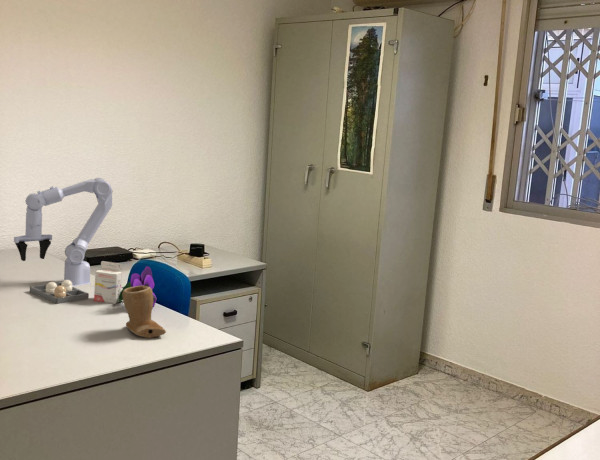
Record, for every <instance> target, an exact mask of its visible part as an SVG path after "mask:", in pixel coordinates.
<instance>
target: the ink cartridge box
mask: <svg viewBox="0 0 600 460" xmlns="http://www.w3.org/2000/svg"><path fill="white" fill-rule="evenodd" d="M122 266H123V265H122V263H118V262H114V261H113V262H112V261H104V260H102V261H101V262H100V269H98V270H96V271H95V273H94V274H95V276H94V291H93V292H94V293H93V294H94V295H93V301H94V302H99V303H100V302H101V303H107V304H112V305H113V306H115V305H117V303H120V301H119V299H118V298H119V295H120V292H121V291H122V274H123V272H122Z"/></svg>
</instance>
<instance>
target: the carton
mask: <svg viewBox="0 0 600 460" xmlns="http://www.w3.org/2000/svg"><path fill="white" fill-rule="evenodd" d="M55 283H56V284H57V286H61V283H62V281H58V282H55ZM47 284H48V283H46V284H39V285H38V284H37V285H32V286H29V292H30V293H31V294H34V295H36V296H37V297H39V298H42V299H44V300H46V301H49V302H51V303H53V304H55V305H58V304H60V305H61V304H66V303H71V302H76V301H77V302H78V301H83V300H84V301H85V300H89V297H90V296H89V295H90V293H89V292H86V291H85V290H81V289H79V288H77V287H75V286H72V290H71V291H66V297H60V298H56V297H54V293H52V294H47V293H46V285H47Z"/></svg>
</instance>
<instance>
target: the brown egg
mask: <svg viewBox="0 0 600 460" xmlns="http://www.w3.org/2000/svg"><path fill="white" fill-rule="evenodd" d="M54 297H56V298H60V297H66V289H65V287H64V286H57V287H56V288H55V290H54Z"/></svg>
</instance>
